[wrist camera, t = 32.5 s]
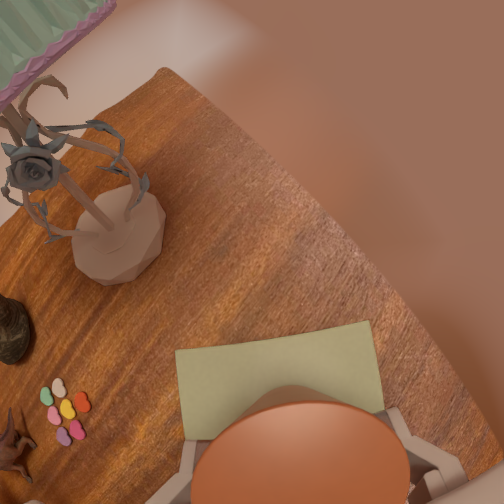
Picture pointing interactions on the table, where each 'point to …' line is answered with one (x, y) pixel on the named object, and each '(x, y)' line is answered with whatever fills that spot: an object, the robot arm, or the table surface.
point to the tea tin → (303, 455)
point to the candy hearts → (65, 411)
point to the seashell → (13, 330)
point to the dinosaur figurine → (12, 448)
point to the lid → (276, 374)
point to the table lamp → (51, 170)
